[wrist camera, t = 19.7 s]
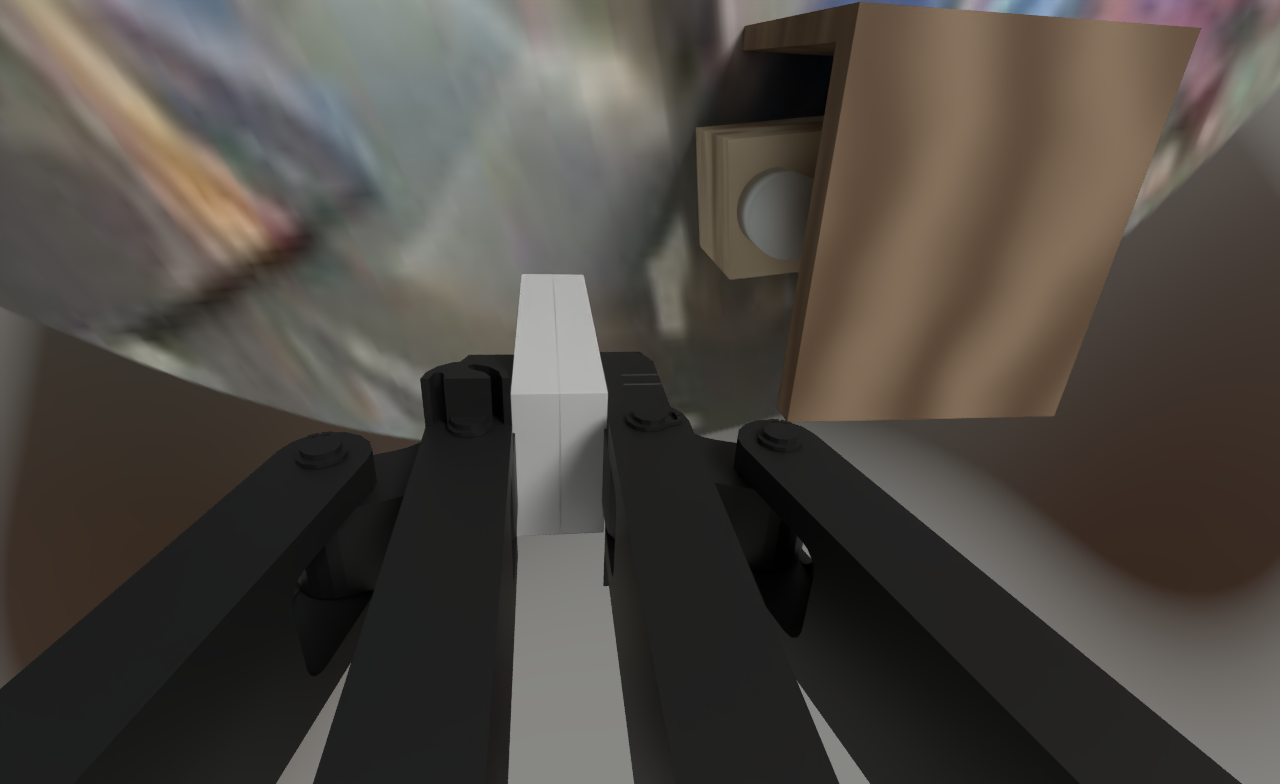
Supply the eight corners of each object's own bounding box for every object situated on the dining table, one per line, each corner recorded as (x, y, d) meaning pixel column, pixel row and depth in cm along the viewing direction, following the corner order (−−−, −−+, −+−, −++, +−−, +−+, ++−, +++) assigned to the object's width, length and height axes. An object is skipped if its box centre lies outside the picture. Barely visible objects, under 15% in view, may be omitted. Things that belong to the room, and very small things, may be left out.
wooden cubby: (713, 317, 43) (787, 421, 30) (744, 26, 36) (859, 1, 23) (908, 317, 45) (1054, 415, 32) (976, 41, 38) (1201, 28, 25)
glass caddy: (699, 245, 41) (742, 294, 32) (695, 127, 38) (742, 145, 29) (850, 229, 42) (933, 272, 33) (858, 112, 39) (953, 125, 30)
